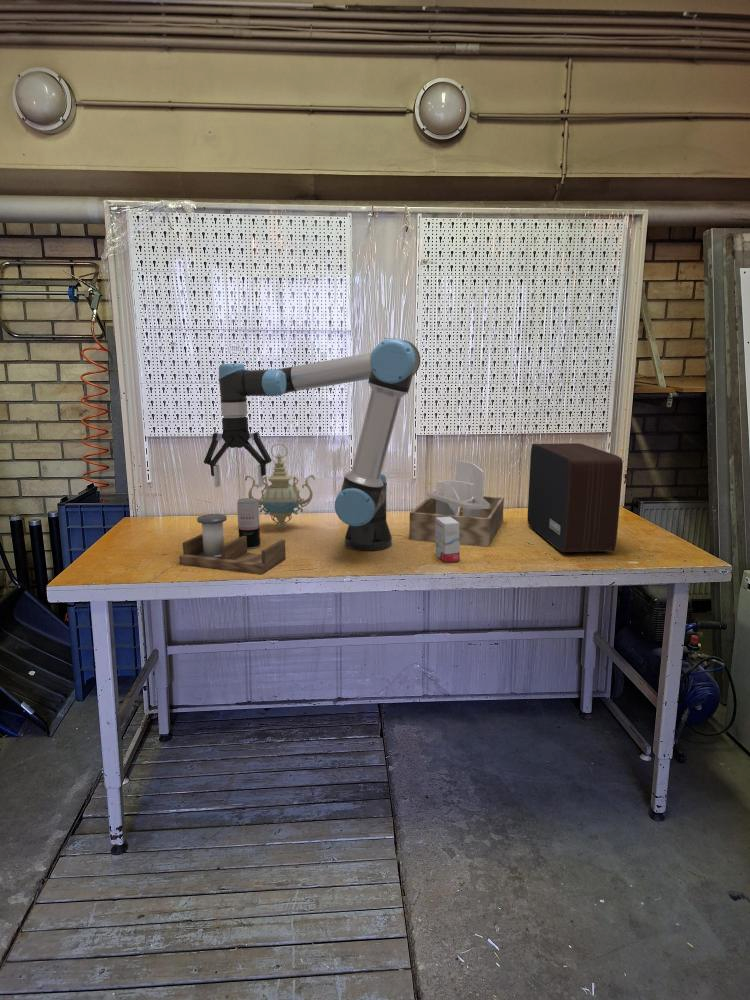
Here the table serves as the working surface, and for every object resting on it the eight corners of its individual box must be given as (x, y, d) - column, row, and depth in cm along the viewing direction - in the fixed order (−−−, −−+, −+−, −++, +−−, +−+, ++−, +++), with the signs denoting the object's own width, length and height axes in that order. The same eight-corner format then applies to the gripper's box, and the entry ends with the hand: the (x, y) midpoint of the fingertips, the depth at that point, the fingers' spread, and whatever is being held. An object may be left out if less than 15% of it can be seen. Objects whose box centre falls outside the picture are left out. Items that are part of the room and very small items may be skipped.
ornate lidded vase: (244, 533, 212) (240, 446, 206) (250, 524, 223) (246, 441, 217) (314, 533, 213) (312, 445, 206) (317, 524, 224) (315, 441, 217)
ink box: (460, 562, 182) (461, 522, 179) (443, 563, 181) (444, 524, 178) (449, 553, 190) (450, 515, 187) (434, 554, 189) (434, 516, 186)
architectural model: (413, 527, 222) (414, 462, 217) (459, 519, 233) (461, 457, 227) (463, 546, 198) (465, 474, 193) (512, 536, 209) (515, 468, 204)
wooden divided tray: (285, 559, 184) (285, 539, 183) (262, 574, 172) (261, 553, 170) (207, 550, 193) (206, 532, 192) (179, 564, 180) (178, 544, 179)
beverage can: (243, 542, 201) (240, 497, 198) (262, 543, 201) (260, 498, 197) (236, 548, 195) (234, 502, 192) (256, 549, 194) (254, 502, 191)
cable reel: (234, 553, 188) (232, 515, 185) (218, 561, 180) (216, 522, 177) (210, 550, 190) (207, 513, 188) (193, 558, 183) (191, 519, 180)
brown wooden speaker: (621, 556, 187) (629, 457, 180) (563, 557, 186) (570, 458, 179) (575, 525, 222) (581, 441, 216) (526, 526, 221) (530, 442, 215)
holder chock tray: (502, 521, 227) (503, 497, 225) (488, 546, 196) (489, 519, 195) (433, 516, 235) (433, 492, 233) (409, 539, 205) (409, 512, 203)
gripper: (278, 414, 188) (282, 483, 192) (198, 415, 190) (203, 484, 194) (272, 416, 180) (276, 488, 185) (189, 418, 182) (195, 488, 187)
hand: (239, 486), depth 190 cm, fingers open, 13 cm apart
